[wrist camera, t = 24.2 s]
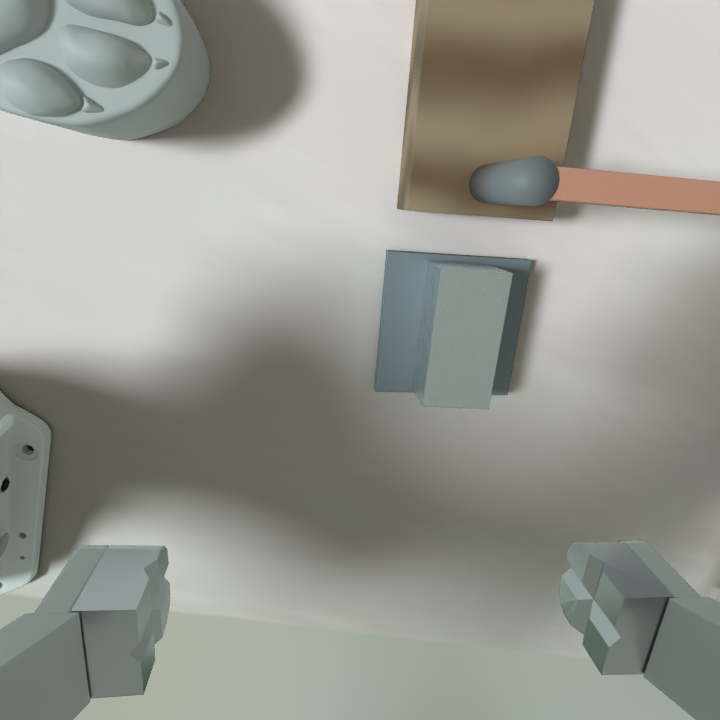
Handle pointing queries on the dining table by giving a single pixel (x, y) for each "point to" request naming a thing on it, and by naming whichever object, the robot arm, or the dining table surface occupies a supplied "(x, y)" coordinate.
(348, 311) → the dining table surface
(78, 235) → the dining table surface
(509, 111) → the body
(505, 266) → the pad
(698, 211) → the cam lever
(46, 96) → the paw pad
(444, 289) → the grey-blue rectangular block
